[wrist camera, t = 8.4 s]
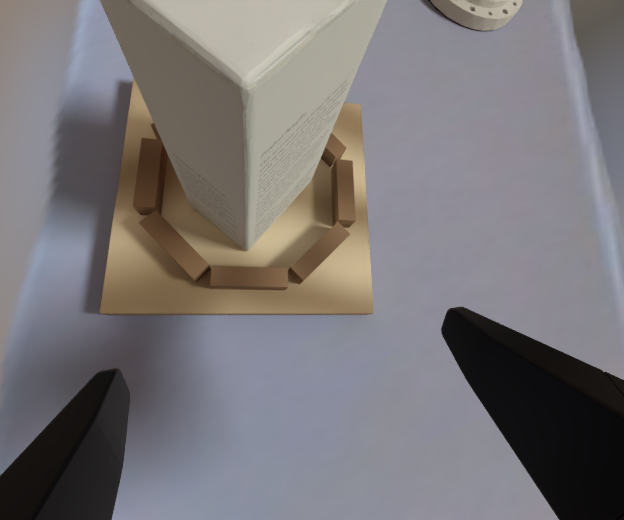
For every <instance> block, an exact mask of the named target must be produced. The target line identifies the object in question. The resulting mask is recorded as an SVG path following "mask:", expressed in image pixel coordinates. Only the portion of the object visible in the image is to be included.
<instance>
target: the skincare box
mask: <svg viewBox="0 0 624 520" xmlns="http://www.w3.org/2000/svg"><path fill="white" fill-rule="evenodd" d="M100 2H101V4H102V6H103V8H104V11H105V13H106V15H107V17H108V19H109V22H110V24H111V26H112V28H113V31H114V33H115V35H116V38H117V40H118V42H119V44H120V47H121V49H122V51H123V54H124V56H125V58H126V60H127V63H128V65H129V67H130V69H131V72H132V74H133V76H134V79H135V81H136V84H137V86H138V88H139V90H140V92H141V95H142V97H143V99H144V101H145V104H146V106H147V108H148V110H149V113H150V115H151V117H152V119H153V122H154V124H155V126H156V129H157V131H158V133H159V135H160V138H161V140H162V142H163V145H164V147H165V149H166V151H167V154H168V156H169V158H170V161H171V163H172V165H173V168H174V170H175V172H176V175H177V177H178V179H179V181H180V184H181V186H182V188H183V190H184V193H185V195H186V197H187V200H188V202H189V204H190V206H191V207H192V208H193V209H194V210H196V211H197V212H198V213H200V214H201V215H202V216H204V217H205V218H206V219H207V220H208V221H210V222H211V223H212V224H213V225H214V226H216V227H217V228H218V229H219V230H220V231H222V232H223V233H224V234H225V235H226V236H228V237H229V238H230V239H231V240H233V241H234V242H235V243H236V244H237V245H239V246H240V247H241V248H242V249H244V250H245V251H249V250H250V249H251V247H252V246H253V245H254V244H255V243H256V242H257V241H258V240H259V239H260V237H261V236H262V235H263V234H264V233H265V232H266V231H267V230H268V229H269V227H270V226H271V225H272V224H273V223H274V222H275V221H276V220H277V219H278V218H279V216H280V215H281V214H282V213H283V212H284V211H285V210H286V209H287V207H288V206H289V205H290V204H291V203H292V202H293V201H294V200H295V198H296V197H297V196H298V195H299V194H300V193H301V192H302V191H303V190H304V188H305V187H306V186H307V185H308V184H309V183H310V182H311V180H312V177H313V175H314V173H315V170H316V168H317V165H318V163H319V161H320V159H321V156H322V154H323V151H324V149H325V147H326V144H327V142H328V139H329V136H330V134H331V132H332V130H333V127H334V124H335V122H336V120H337V118H338V115H339V113H340V110H341V108H342V106H343V103H344V101H345V99H346V96H347V94H348V92H349V89H350V87H351V84H352V82H353V80H354V77H355V75H356V72H357V70H358V68H359V65H360V63H361V61H362V58H363V56H364V53H365V51H366V48H367V46H368V44H369V42H370V40H371V37H372V35H373V33H374V30H375V28H376V26H377V24H378V21H379V19H380V16H381V14H382V11H383V9H384V7H385V4H386V2H387V0H100Z"/></svg>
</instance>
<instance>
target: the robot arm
mask: <svg viewBox="0 0 624 520" xmlns="http://www.w3.org/2000/svg"><path fill="white" fill-rule="evenodd" d="M441 331H442V335H443V338H444V339H445V341H446V343H447V345H448V347H449V349H450V351H451V352H452V354H453V356H454V358H455V360H456V362H457V364H458V365H459V367H460V369H461V371H462V373H463V375H464V376H465V378H466V380H467V381H468V383H469V385H470V386H471V388H472V389H473V391H474V392H475V394H476V395H477V397H478V398H479V400H480V401H481V403H482V404H483V406H484V407H485V409H486V410H487V412H488V413H489V415H490V416H491V418H492V419H493V421H494V422H495V424H496V425H497V427H498V428H499V430H500V431H501V433H502V434H503V436H504V437H505V439H506V440H507V442H508V443H509V445H510V446H511V448H512V449H513V451H514V452H515V454H516V455H517V457H518V458H519V460H520V461H521V463H522V464H523V466H524V467H525V469H526V470H527V472H528V473H529V475H530V476H531V478H532V480H533V481H534V483H535V484H536V486H537V487H538V489H539V490H540V492H541V493H542V495H543V496H544V498H545V499H546V501H547V502H548V504H549V505H550V507H551V508H552V510H553V511H554V513H555V514H556V516H557V517H558V519H559V520H624V380H622V379H620V378H618V377H616V376H614V375H611V374H609V373H607V372H603V371H602V370H600V369H598V368H596V367H594V366H591V365H589V364H587V363H585V362H583V361H581V360H578V359H576V358H574V357H572V356H570V355H567V354H565V353H563V352H561V351H559V350H556V349H554V348H552V347H550V346H548V345H545V344H543V343H541V342H539V341H537V340H534V339H532V338H530V337H528V336H526V335H523V334H521V333H519V332H517V331H515V330H512V329H510V328H508V327H506V326H504V325H501V324H499V323H497V322H495V321H493V320H491V319H488V318H486V317H484V316H482V315H480V314H477V313H475V312H473V311H471V310H469V309H466V308H464V307H455V308H450V309H449V310H448V311H447V313H446V316H445V319H444V322H443V325H442V328H441ZM129 404H130V392H129V389H128V387H127V384H126V382H125V380H124V377H123V375H122V373H121V371H120V370H119V369H116V368H115V369H110V370H104V371H100V372H98V373H97V374H95V375H94V376H93V378H92V379H91V380H90V381H89V382H88V383H87V384H86V385H85V386H84V387H83V388H82V389H81V390H80V391H79V392H78V394H77V395H76V396H75V397H74V398H73V399H72V400H71V401H70V402H69V403H68V404H67V405H66V406H65V407H64V408H63V410H62V411H61V412H60V413H59V414H58V415H57V416H56V417H55V418H54V419H53V420H52V421H51V422H50V423H49V424H48V426H47V427H46V428H45V429H44V430H43V431H42V432H41V433H40V434H39V435H38V436H37V437H36V438H35V439H34V440H33V442H32V443H31V444H30V445H29V446H28V447H27V448H26V449H25V450H24V451H23V452H22V453H21V454H20V455H19V457H18V458H17V459H16V460H15V461H14V462H13V463H12V464H11V465H10V466H9V467H8V468H7V469H6V470H5V471H4V473H3V474H2V475H1V476H0V520H112V515H113V510H114V506H115V501H116V497H117V492H118V487H119V483H120V478H121V473H122V468H123V461H124V452H125V442H126V433H127V423H128V413H129Z"/></svg>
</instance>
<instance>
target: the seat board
mask: <svg viewBox="0 0 624 520" xmlns="http://www.w3.org/2000/svg"><path fill="white" fill-rule="evenodd" d="M100 314H106V315H367V314H373V298H372V281H371V265H370V248H369V232H368V216H367V199H366V183H365V167H364V150H363V134H362V118H361V105H359V104H352V103H345V102H344V103H343V106H342V108H341V110H340V113H339V115H338V118H337V120H336V122H335V124H334V127H333V130H332V132H331V134H330V136H329V139H328V142H327V144H326V147H325V149H324V151H323V154H322V156H321V159H320V161H319V163H318V165H317V168H316V170H315V173H314V175H313V177H312V180H311V182H310V183H309V184H308V185H307V186H306V187H305V188H304V190H303V191H302V192H301V193H300V194H299V195H298V196H297V197H296V198H295V200H294V201H293V202H292V203H291V204H290V205H289V206H288V207H287V209H286V210H285V211H284V212H283V213H282V214H281V215H280V216H279V218H278V219H277V220H276V221H275V222H274V223H273V224H272V225H271V226H270V227H269V229H268V230H267V231H266V232H265V233H264V234H263V235H262V236H261V237H260V239H259V240H258V241H257V242H256V243H255V244H254V245H253V246H252V247H251V249H250V250H249V251H245V250H244V249H242V248H241V247H240V246H239V245H237V244H236V243H235V242H234V241H233V240H231V239H230V238H229V237H228V236H226V235H225V234H224V233H223V232H222V231H220V230H219V229H218V228H217V227H216V226H214V225H213V224H212V223H211V222H210V221H208V220H207V219H206V218H205V217H204V216H202V215H201V214H200V213H198V212H197V211H196V210H194V209H193V208H192V207H191V206H190V204H189V202H188V200H187V197H186V195H185V193H184V190H183V188H182V186H181V184H180V181H179V179H178V177H177V175H176V172H175V170H174V168H173V165H172V163H171V161H170V158H169V156H168V154H167V151H166V149H165V147H164V145H163V142H162V140H161V138H160V135H159V133H158V131H157V129H156V126H155V124H154V122H153V119H152V117H151V115H150V113H149V110H148V108H147V106H146V104H145V101H144V99H143V97H142V95H141V92H140V90H139V88H138V86H137V84H136V81H135V79H133V86H132V92H131V99H130V106H129V113H128V120H127V127H126V134H125V141H124V148H123V154H122V161H121V168H120V175H119V182H118V189H117V196H116V203H115V210H114V217H113V223H112V230H111V237H110V244H109V251H108V258H107V265H106V272H105V279H104V285H103V292H102V299H101V306H100Z"/></svg>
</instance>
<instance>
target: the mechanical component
mask: <svg viewBox="0 0 624 520" xmlns="http://www.w3.org/2000/svg"><path fill="white" fill-rule="evenodd" d="M430 1H431V2H432V3H433V5H434V6H435V7H436V8H438V9H439V10H440V11H441V12H442V13H443V14H444V15H445V16H447V17H448V18H450V19H452V20H454V21H455V22H457V23H459V24H461V25H463V26H466V27H468V28H471V29H476V30H482V31H486V30H495V29H498V28H500V27H503V26H504V25H505V24H507V23H508V22H509V21H510V19H511V18H512V17H513V16H514V14H515V13H516V12H517V11H518V10H519V8H520V7H521V4H522V2H523V0H430Z"/></svg>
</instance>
